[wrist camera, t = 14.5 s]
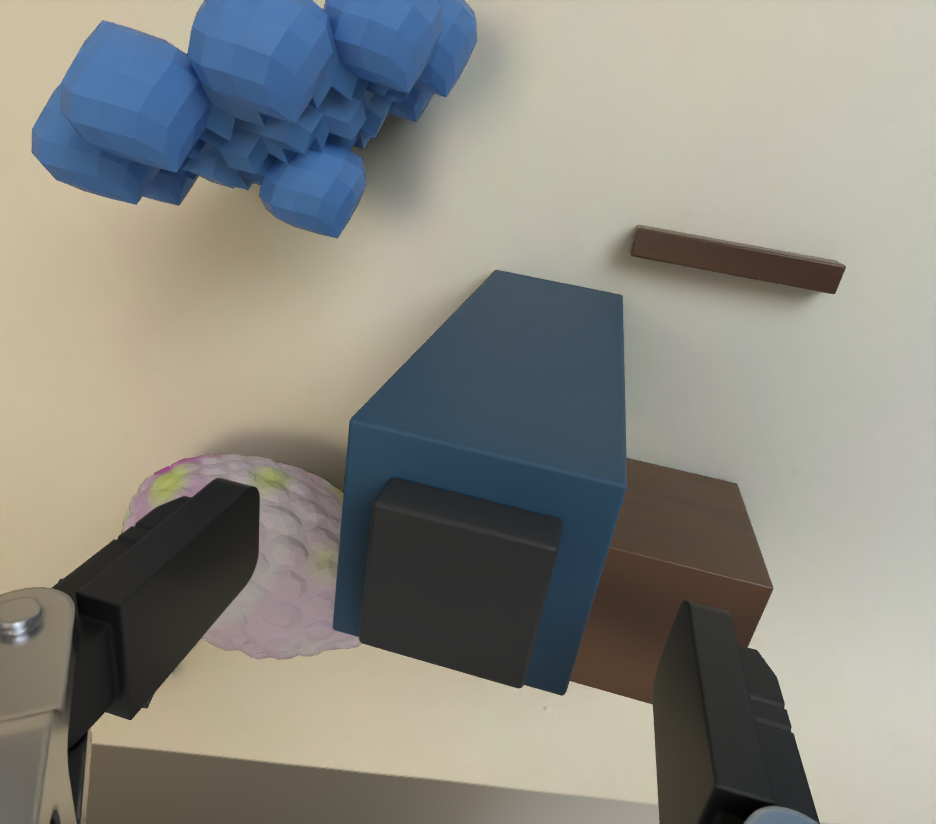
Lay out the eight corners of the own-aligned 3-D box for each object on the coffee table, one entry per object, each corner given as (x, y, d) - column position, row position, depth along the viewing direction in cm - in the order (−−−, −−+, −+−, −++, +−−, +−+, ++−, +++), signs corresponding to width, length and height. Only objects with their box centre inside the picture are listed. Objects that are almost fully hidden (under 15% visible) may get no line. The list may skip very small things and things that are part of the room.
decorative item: (413, 684, 28) (168, 753, 21) (296, 599, 36) (94, 628, 29) (438, 478, 27) (195, 481, 21) (314, 439, 35) (113, 432, 29)
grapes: (274, 267, 27) (43, 350, 16) (198, 100, 25) (-124, 67, 14) (537, 162, 23) (465, 179, 12) (472, -44, 21) (319, -239, 10)
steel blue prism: (535, 684, 23) (587, 712, 9) (401, 646, 23) (275, 621, 10) (608, 339, 27) (709, 41, 14) (495, 315, 28) (492, 10, 15)
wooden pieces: (705, 600, 28) (729, 726, 22) (551, 560, 29) (533, 671, 23) (838, 261, 22) (922, 305, 16) (636, 224, 23) (643, 253, 17)
